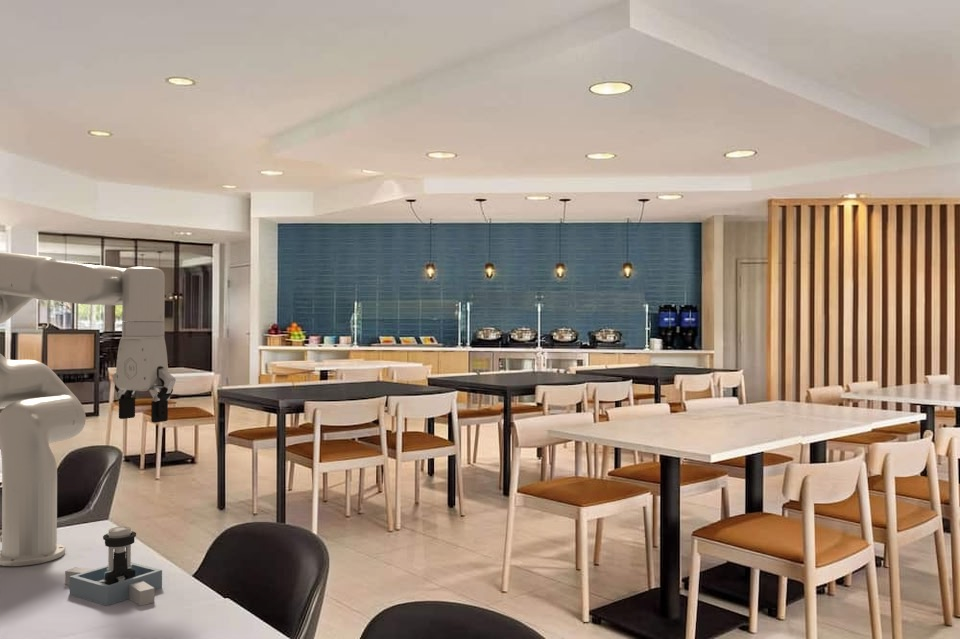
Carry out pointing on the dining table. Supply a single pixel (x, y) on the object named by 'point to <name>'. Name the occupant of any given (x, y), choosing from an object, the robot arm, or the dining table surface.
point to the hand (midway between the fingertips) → (142, 419)
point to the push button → (119, 555)
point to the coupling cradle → (114, 585)
